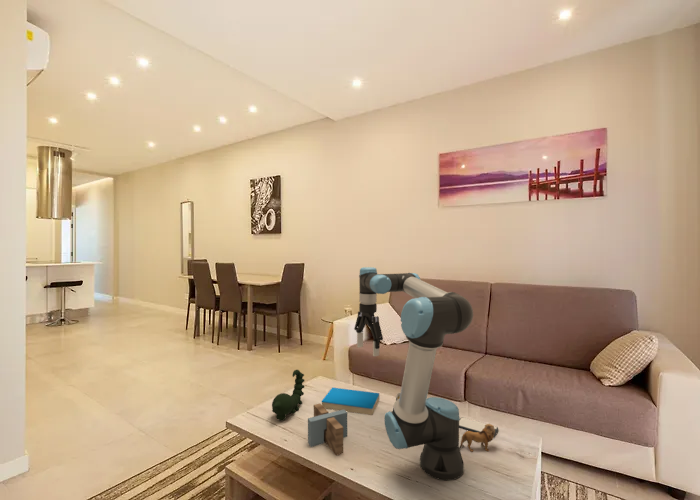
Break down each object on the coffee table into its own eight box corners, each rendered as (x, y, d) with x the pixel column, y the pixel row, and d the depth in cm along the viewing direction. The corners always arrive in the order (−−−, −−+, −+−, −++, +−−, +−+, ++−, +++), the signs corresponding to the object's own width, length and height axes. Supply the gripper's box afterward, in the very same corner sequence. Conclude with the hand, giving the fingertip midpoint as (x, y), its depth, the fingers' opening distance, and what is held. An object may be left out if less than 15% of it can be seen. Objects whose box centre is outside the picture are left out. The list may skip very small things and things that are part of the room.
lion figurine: (490, 443, 141) (490, 420, 141) (498, 450, 136) (498, 427, 135) (455, 446, 139) (455, 423, 138) (462, 454, 133) (462, 431, 133)
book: (372, 408, 163) (321, 400, 169) (372, 417, 163) (321, 409, 169) (379, 392, 179) (332, 386, 186) (379, 400, 179) (332, 394, 186)
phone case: (454, 428, 153) (493, 439, 144) (454, 424, 153) (493, 435, 144) (461, 419, 160) (499, 430, 151) (461, 416, 160) (499, 426, 151)
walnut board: (343, 453, 134) (343, 427, 133) (336, 455, 132) (336, 429, 132) (320, 426, 153) (320, 403, 153) (313, 427, 152) (313, 404, 151)
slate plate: (343, 433, 148) (344, 409, 148) (347, 436, 145) (347, 412, 145) (307, 443, 140) (307, 418, 140) (310, 447, 138) (310, 421, 137)
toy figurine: (291, 404, 177) (263, 424, 153) (293, 365, 178) (265, 379, 154) (308, 407, 174) (282, 428, 150) (310, 368, 175) (284, 382, 151)
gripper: (391, 307, 145) (391, 358, 146) (361, 298, 167) (361, 342, 168) (375, 308, 142) (375, 361, 142) (347, 299, 164) (347, 344, 164)
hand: (367, 351), depth 155 cm, fingers open, 13 cm apart
